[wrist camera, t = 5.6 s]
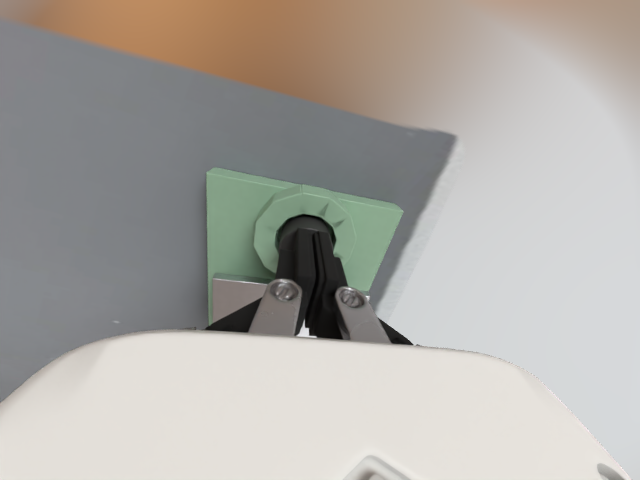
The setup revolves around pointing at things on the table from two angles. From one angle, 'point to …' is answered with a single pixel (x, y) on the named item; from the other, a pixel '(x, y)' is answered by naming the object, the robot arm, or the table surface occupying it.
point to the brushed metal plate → (242, 295)
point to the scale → (275, 211)
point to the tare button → (300, 222)
